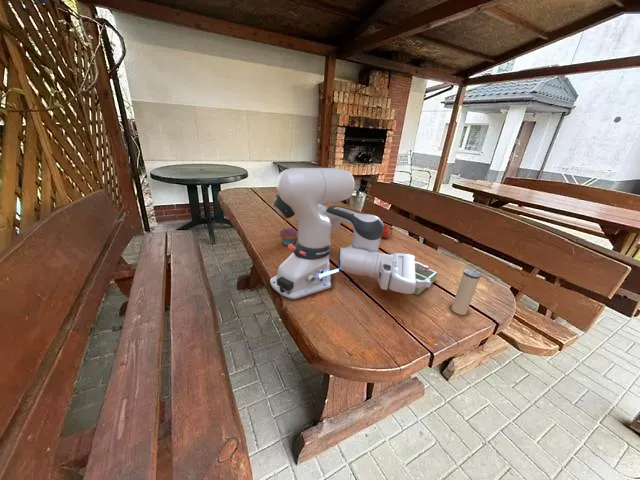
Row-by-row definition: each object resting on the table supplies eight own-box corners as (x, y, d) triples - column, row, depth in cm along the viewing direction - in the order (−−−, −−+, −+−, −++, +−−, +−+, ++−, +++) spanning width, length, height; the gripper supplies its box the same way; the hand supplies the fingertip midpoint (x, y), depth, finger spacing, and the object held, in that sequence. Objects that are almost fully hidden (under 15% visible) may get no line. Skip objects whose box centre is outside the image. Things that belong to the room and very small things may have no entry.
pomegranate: (374, 242, 135) (390, 236, 127) (370, 228, 136) (385, 222, 128) (383, 240, 140) (398, 234, 132) (378, 227, 141) (394, 220, 133)
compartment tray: (417, 295, 90) (419, 286, 88) (381, 277, 99) (383, 268, 98) (435, 281, 99) (437, 272, 98) (401, 265, 108) (403, 257, 107)
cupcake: (285, 248, 116) (285, 223, 111) (275, 241, 122) (275, 217, 117) (301, 244, 121) (302, 219, 116) (291, 237, 127) (291, 214, 122)
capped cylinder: (463, 317, 81) (478, 278, 75) (448, 309, 84) (461, 272, 78) (468, 311, 84) (483, 273, 78) (454, 304, 87) (466, 267, 81)
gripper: (385, 261, 96) (424, 269, 93) (381, 292, 78) (429, 303, 75) (388, 246, 94) (429, 253, 91) (384, 274, 76) (435, 284, 73)
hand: (429, 276), depth 83 cm, fingers open, 8 cm apart
